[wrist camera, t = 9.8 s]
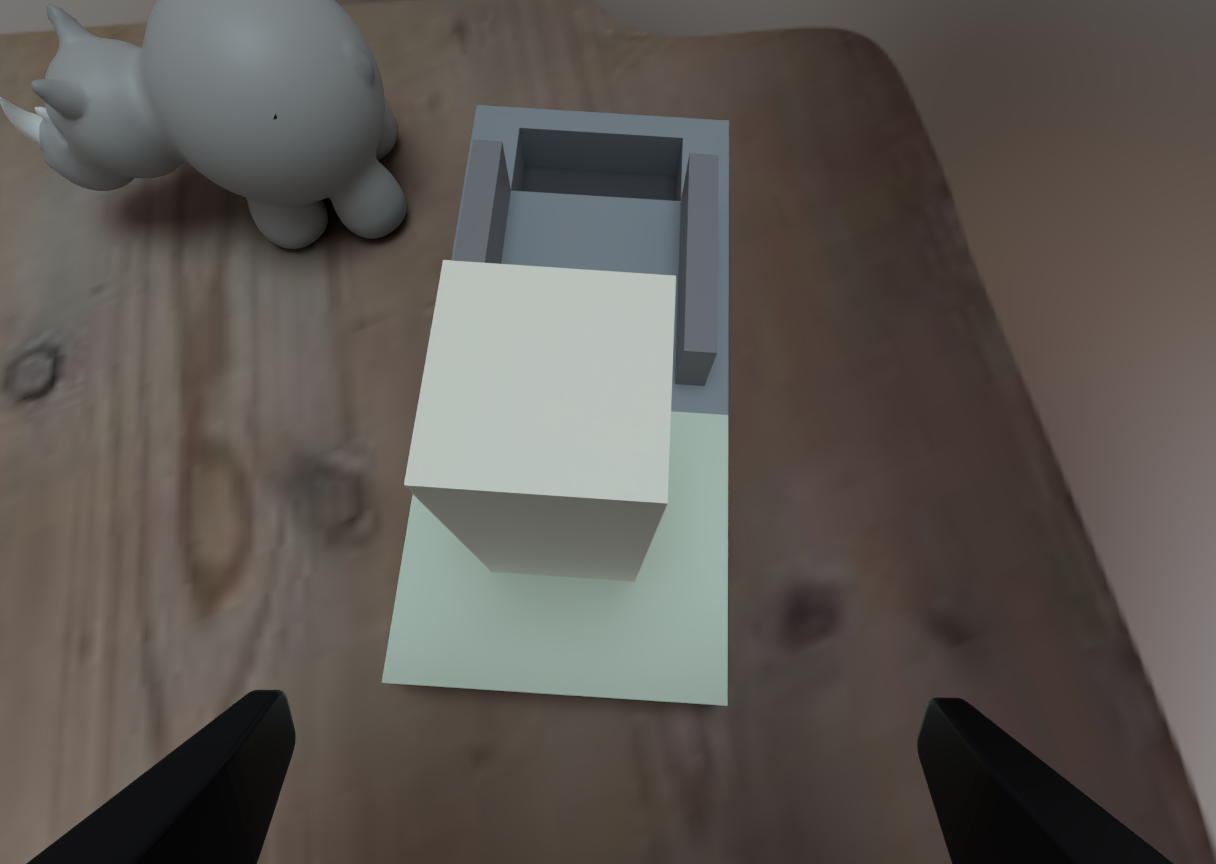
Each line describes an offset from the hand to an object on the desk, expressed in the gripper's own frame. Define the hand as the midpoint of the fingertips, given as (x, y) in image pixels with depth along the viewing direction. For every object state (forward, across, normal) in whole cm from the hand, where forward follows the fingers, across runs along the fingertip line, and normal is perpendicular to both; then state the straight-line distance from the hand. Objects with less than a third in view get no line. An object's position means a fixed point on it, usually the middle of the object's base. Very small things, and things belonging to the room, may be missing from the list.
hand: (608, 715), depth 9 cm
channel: (+17, +1, +2) cm, 17 cm away
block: (+12, +1, +4) cm, 12 cm away
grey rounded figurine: (+23, +14, -4) cm, 27 cm away
